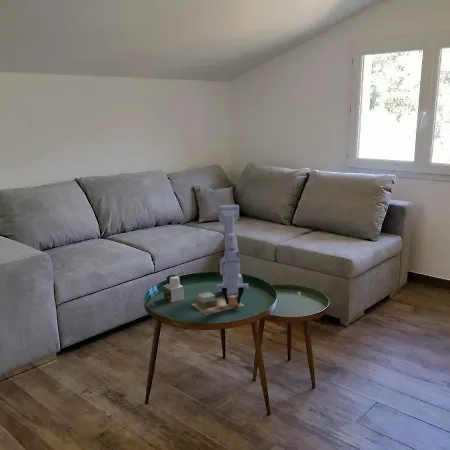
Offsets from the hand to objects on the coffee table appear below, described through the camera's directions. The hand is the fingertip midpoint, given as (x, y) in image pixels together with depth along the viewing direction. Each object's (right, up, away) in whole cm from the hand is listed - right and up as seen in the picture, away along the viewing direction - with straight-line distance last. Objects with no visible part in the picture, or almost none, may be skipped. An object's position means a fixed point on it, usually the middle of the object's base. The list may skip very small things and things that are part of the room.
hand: (232, 303), depth 224 cm
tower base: (-12, -1, +1) cm, 12 cm away
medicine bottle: (-28, 0, +11) cm, 30 cm away
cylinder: (0, -1, 0) cm, 1 cm away
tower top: (-12, +1, +1) cm, 12 cm away
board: (-7, -1, +2) cm, 7 cm away
